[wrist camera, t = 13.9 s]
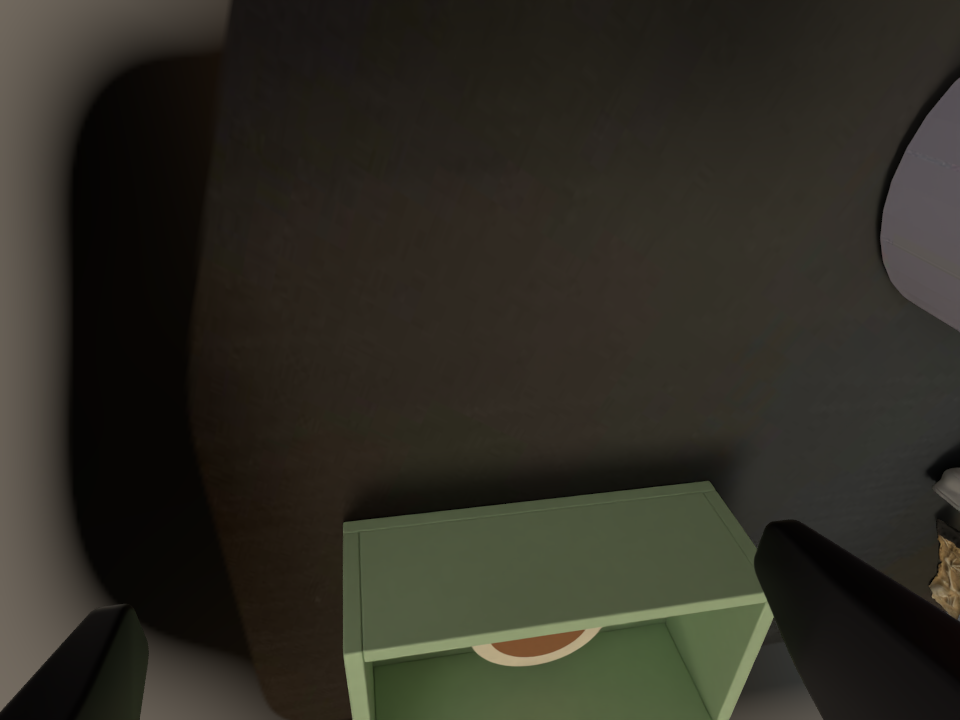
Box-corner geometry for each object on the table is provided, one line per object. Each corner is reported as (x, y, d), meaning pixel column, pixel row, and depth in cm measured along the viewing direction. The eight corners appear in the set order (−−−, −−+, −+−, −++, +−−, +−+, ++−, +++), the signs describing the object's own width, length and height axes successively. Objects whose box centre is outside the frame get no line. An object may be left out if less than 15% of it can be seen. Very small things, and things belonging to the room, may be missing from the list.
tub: (360, 663, 29) (363, 797, 25) (342, 521, 24) (342, 655, 20) (669, 617, 32) (725, 730, 27) (709, 480, 27) (786, 589, 22)
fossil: (946, 507, 31) (931, 515, 31) (983, 534, 30) (969, 543, 29) (936, 593, 36) (924, 601, 36) (969, 621, 34) (956, 628, 34)
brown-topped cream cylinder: (441, 625, 28) (447, 665, 26) (490, 529, 25) (499, 567, 24) (562, 634, 30) (574, 671, 28) (618, 546, 27) (636, 582, 26)
